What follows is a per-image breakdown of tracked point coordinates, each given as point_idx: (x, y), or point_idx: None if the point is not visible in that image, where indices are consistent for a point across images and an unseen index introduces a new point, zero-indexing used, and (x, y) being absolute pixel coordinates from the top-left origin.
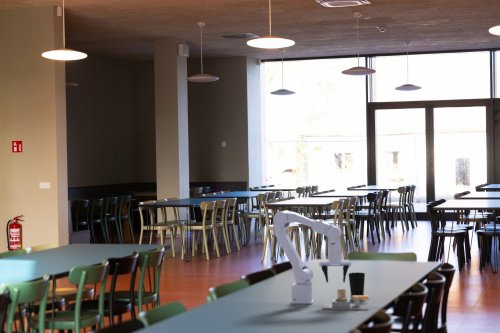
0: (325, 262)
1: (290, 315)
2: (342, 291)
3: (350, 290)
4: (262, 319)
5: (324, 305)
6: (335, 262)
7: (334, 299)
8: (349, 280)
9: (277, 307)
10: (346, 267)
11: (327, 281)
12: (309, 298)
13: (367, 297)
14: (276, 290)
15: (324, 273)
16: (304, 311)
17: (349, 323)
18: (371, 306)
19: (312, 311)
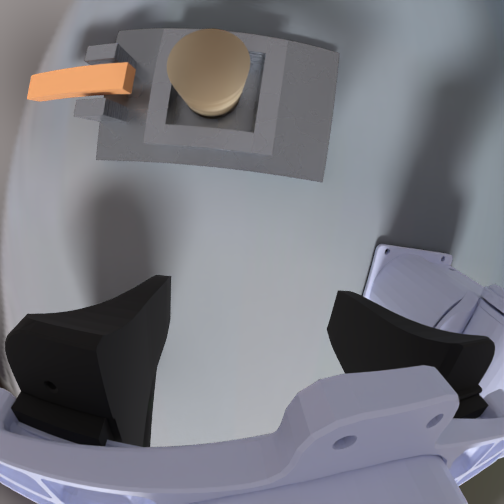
0: (463, 469)
1: (449, 7)
2: (202, 33)
3: (152, 385)
4: (497, 4)
5: (326, 114)
6: (340, 484)
7: (265, 120)
8: (145, 428)
9: (494, 186)
10: (24, 328)
11: (345, 293)
12: (397, 272)
13: (39, 75)
14: None
15: (421, 325)
16: (415, 53)
17: None
18: (50, 141)
19: (382, 39)
